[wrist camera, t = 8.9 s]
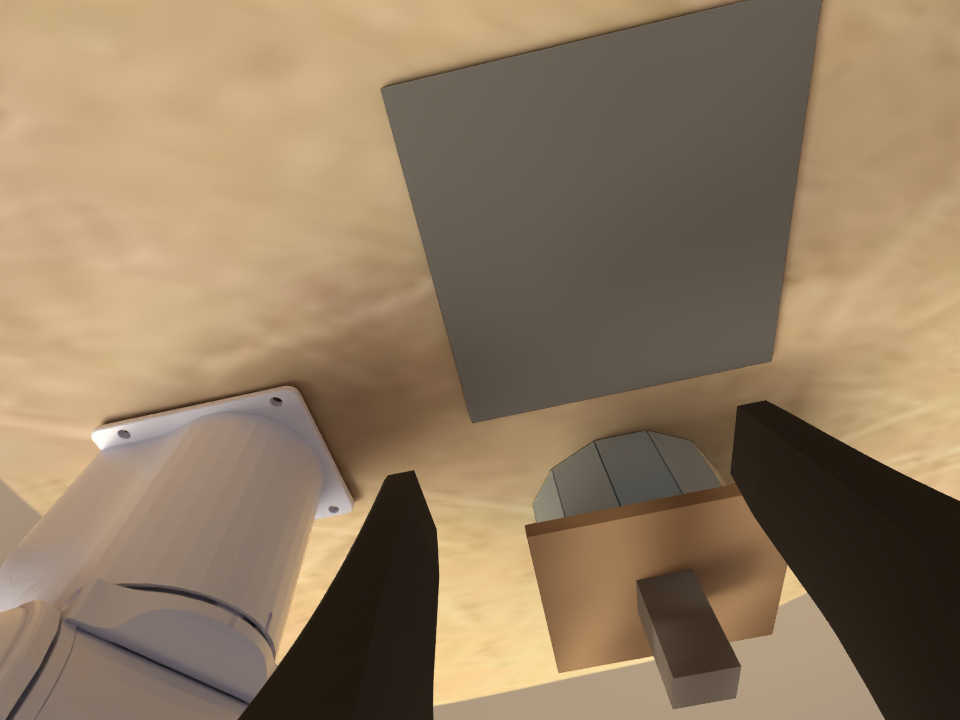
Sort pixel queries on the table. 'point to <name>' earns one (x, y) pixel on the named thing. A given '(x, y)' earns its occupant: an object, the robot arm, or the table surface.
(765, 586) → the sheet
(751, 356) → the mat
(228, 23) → the table surface
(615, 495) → the bowl
